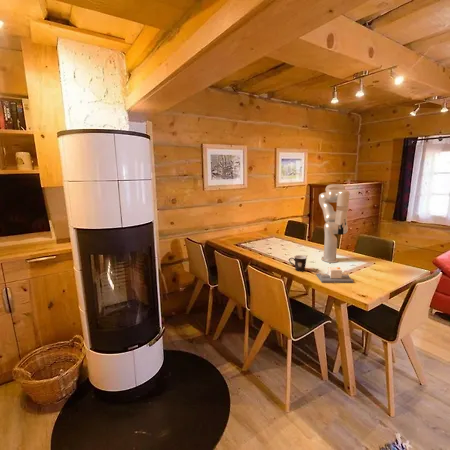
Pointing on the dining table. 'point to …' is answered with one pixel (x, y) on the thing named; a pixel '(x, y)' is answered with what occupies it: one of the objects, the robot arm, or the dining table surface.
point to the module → (335, 272)
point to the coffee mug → (299, 262)
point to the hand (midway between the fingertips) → (340, 234)
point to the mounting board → (335, 280)
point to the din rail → (329, 276)
